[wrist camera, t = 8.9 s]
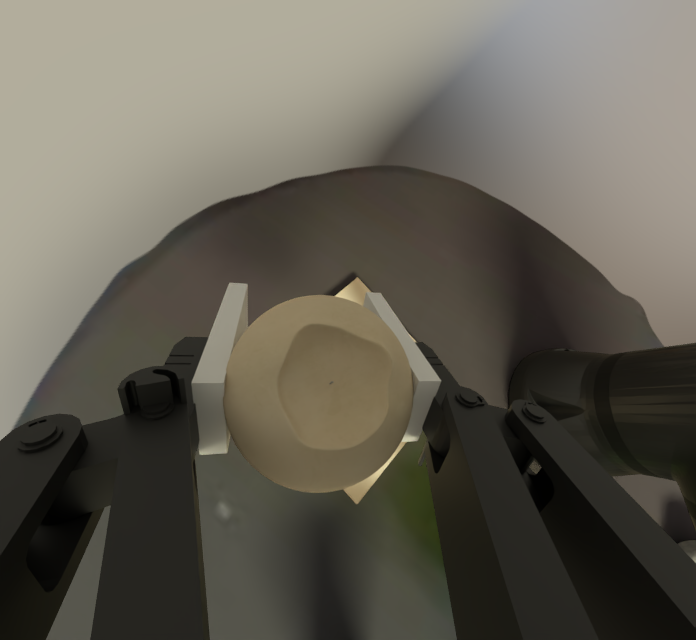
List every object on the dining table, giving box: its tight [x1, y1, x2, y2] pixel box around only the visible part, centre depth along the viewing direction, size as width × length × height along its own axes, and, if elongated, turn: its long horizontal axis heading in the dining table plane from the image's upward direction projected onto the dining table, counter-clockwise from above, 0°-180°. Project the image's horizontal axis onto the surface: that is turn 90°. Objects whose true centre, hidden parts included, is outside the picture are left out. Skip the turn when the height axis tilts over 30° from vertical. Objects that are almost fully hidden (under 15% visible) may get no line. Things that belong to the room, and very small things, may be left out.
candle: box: [223, 295, 414, 493], centre depth 12 cm, size 6×6×10 cm
